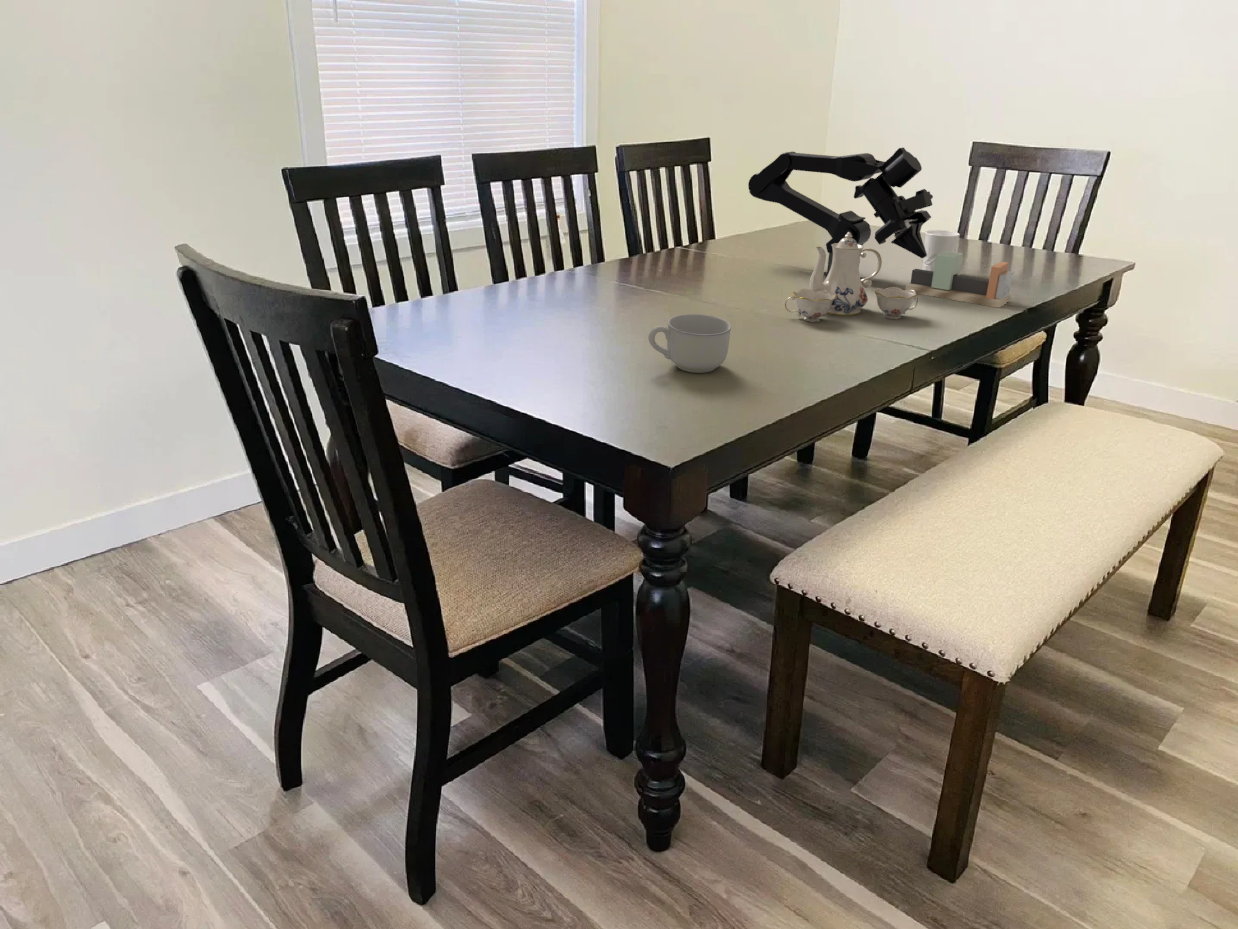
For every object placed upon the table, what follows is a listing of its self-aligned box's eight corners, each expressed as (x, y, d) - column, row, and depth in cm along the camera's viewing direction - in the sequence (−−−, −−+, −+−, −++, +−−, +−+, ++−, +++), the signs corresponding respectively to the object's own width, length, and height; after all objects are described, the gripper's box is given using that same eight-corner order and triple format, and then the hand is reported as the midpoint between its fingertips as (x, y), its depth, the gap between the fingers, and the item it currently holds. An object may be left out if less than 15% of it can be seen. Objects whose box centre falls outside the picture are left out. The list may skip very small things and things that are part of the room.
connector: (995, 298, 198) (999, 274, 196) (1002, 294, 201) (1006, 270, 199) (1001, 299, 197) (1006, 275, 195) (1008, 295, 200) (1013, 271, 198)
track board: (905, 291, 208) (906, 285, 208) (917, 286, 213) (918, 279, 213) (999, 307, 197) (1000, 300, 196) (1009, 301, 202) (1010, 294, 201)
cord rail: (910, 283, 210) (912, 270, 208) (913, 281, 211) (915, 268, 210) (997, 297, 199) (999, 283, 197) (1000, 295, 200) (1002, 282, 199)
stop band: (985, 297, 198) (991, 266, 195) (995, 292, 203) (1001, 261, 200) (993, 299, 197) (999, 267, 194) (1002, 293, 202) (1008, 262, 199)
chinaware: (799, 336, 181) (812, 253, 173) (766, 306, 195) (776, 228, 186) (924, 327, 188) (942, 247, 179) (883, 299, 202) (898, 224, 193)
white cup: (948, 271, 229) (955, 230, 225) (956, 278, 222) (963, 236, 217) (916, 270, 229) (922, 229, 225) (922, 277, 222) (929, 235, 218)
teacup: (723, 357, 162) (726, 313, 159) (732, 378, 152) (736, 331, 149) (645, 357, 162) (646, 312, 158) (648, 377, 152) (650, 330, 148)
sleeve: (931, 287, 205) (936, 254, 202) (940, 282, 209) (945, 250, 206) (948, 290, 203) (954, 257, 200) (957, 285, 207) (963, 253, 204)
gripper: (895, 181, 196) (938, 240, 194) (928, 173, 209) (968, 228, 208) (856, 214, 204) (897, 271, 202) (891, 205, 217) (929, 258, 215)
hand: (924, 256), depth 207 cm, fingers closed
